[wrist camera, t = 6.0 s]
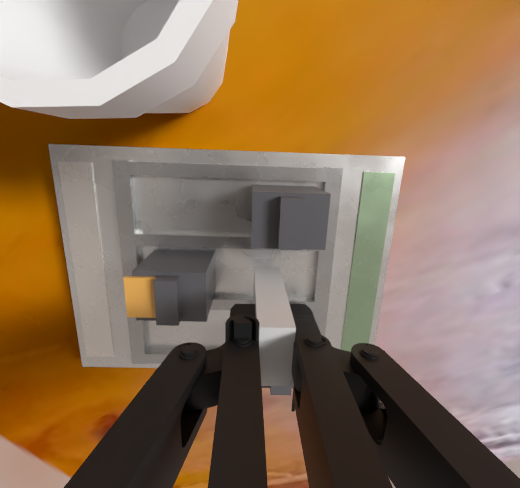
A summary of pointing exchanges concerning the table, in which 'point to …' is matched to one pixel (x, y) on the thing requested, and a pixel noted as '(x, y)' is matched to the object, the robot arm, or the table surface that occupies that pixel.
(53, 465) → the table surface
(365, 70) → the table surface
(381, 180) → the panel
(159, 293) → the breaker
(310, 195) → the block
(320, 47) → the table surface
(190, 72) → the foam cup
